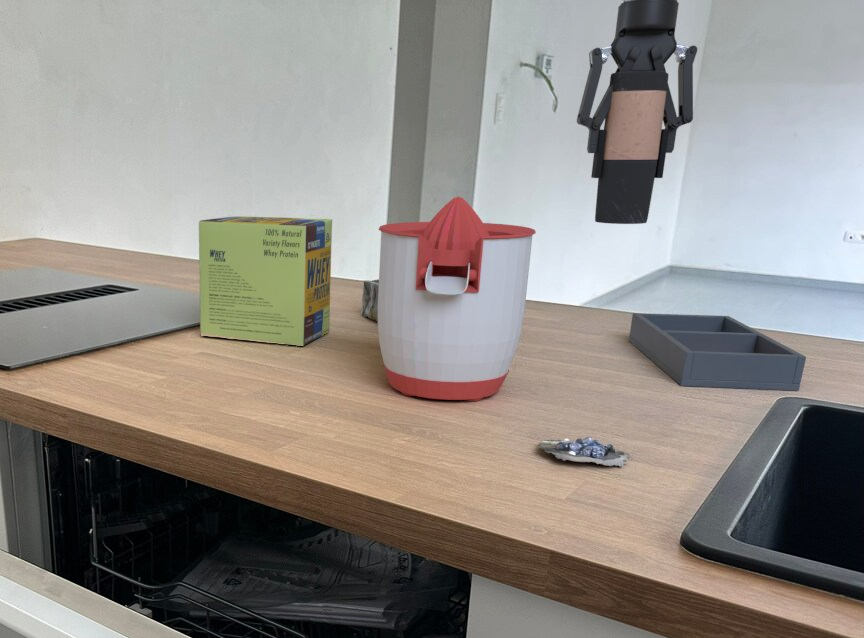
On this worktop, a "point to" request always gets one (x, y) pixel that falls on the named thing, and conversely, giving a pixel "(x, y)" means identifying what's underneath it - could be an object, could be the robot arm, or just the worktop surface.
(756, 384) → the grey divided tray
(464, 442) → the worktop surface
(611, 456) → the blueberries
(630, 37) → the robot arm
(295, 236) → the protein box
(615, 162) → the travel mug
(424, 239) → the citrus juicer
